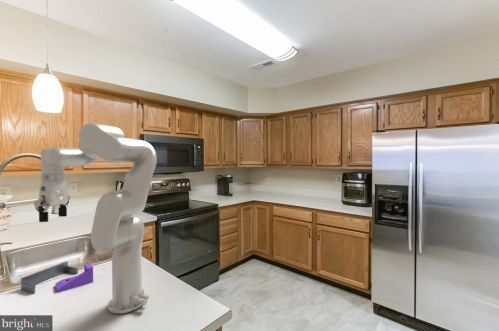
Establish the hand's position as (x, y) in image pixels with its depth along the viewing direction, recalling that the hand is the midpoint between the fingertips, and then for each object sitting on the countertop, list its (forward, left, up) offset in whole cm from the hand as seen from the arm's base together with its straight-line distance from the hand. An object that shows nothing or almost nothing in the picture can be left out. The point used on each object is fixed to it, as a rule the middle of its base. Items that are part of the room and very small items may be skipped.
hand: (53, 218), depth 100 cm
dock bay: (+2, -1, -27) cm, 28 cm away
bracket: (-8, -3, -28) cm, 29 cm away
